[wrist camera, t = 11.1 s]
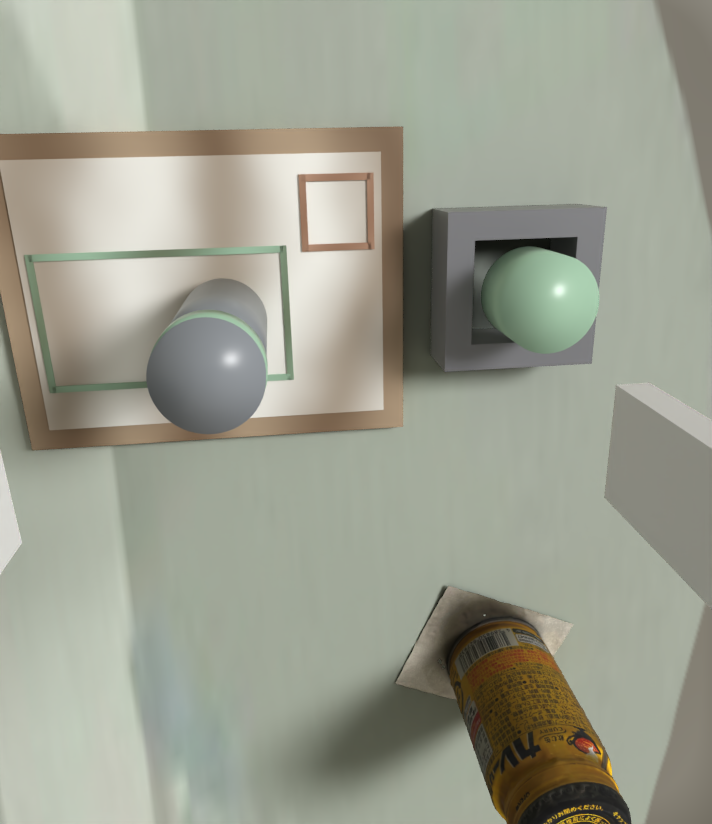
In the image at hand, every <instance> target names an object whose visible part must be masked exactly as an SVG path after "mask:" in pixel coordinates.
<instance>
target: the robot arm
mask: <svg viewBox="0 0 712 824" xmlns="http://www.w3.org/2000/svg"><path fill="white" fill-rule="evenodd" d="M604 498H605V499H606V500H607V501H608V502H609V503H610V504H611V505H612V506H613V507H614V508H615V509H616V510H617V511H618V512H619V513H620V514H621V515H622V516H623V517H624V518H625V519H626V520H627V521H628V523H629V524H630V525H631V526H632V527H633V528H634V529H635V530H636V531H637V532H638V533H639V534H640V535H641V536H642V537H643V538H644V539H645V540H646V541H647V542H648V543H649V544H650V545H651V547H652V548H653V549H654V550H655V551H656V552H657V553H658V554H659V555H660V556H661V557H662V558H663V559H664V560H665V561H666V562H667V563H668V564H669V565H670V566H671V567H672V568H673V569H674V570H675V572H676V573H677V574H678V575H679V576H680V577H681V578H682V579H683V580H684V581H685V582H686V583H687V584H688V585H689V586H690V587H691V588H692V589H693V590H694V591H695V592H696V593H697V594H698V596H699V597H700V598H701V599H702V600H703V601H704V602H705V603H706V604H707V605H708V606H709V607H710V608H711V609H712V420H711V419H709V418H708V417H706V416H704V415H703V414H701V413H699V412H698V411H696V410H694V409H693V408H691V407H689V406H688V405H686V404H684V403H683V402H681V401H679V400H678V399H676V398H674V397H673V396H671V395H669V394H668V393H666V392H664V391H663V390H661V389H659V388H658V387H656V386H654V385H653V384H651V383H637V384H621V385H616V390H615V400H614V409H613V419H612V428H611V438H610V447H609V457H608V466H607V476H606V485H605V495H604ZM21 544H22V540H21V536H20V532H19V528H18V523H17V519H16V515H15V511H14V506H13V502H12V498H11V493H10V489H9V485H8V481H7V476H6V472H5V468H4V464H3V459H2V455H1V451H0V574H1V573H2V571H3V570H4V568H5V567H6V565H7V564H8V562H9V561H10V560H11V558H12V557H13V555H14V554H15V552H16V551H17V549H18V548H19V547H20V545H21Z"/></svg>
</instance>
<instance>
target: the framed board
mask: <svg viewBox="0 0 712 824" xmlns="http://www.w3.org/2000/svg"><path fill="white" fill-rule="evenodd" d="M220 278H225V279H233V280H236V281H239V282H241V283H243V284H245V285H247V286H248V287H250V288H251V289H252V290H253V291H254V292H255V293H256V294H257V295H258V296H259V298H260V299H261V301H262V302H263V305H264V307H265V310H266V313H267V361H268V378H267V385H266V388H265V392H264V396H263V399H262V401H261V403H260V405H259V407H258V408H257V410H256V411H255V413H254V414H253V415H252V416H251V417H250V418H249V419H248V420H247V421H246V422H244V423H243V424H242V425H240V426H238V427H236V428H234V429H232V430H230V431H227V432H223V433H218V434H199V433H194V432H190V431H187V430H184V429H182V428H180V427H178V426H176V425H174V424H173V423H171V422H170V421H169V420H167V419H166V418H165V417H164V416H163V415H162V414H161V413H160V412H159V410H158V409H157V408H156V406H155V405H154V403H153V401H152V399H151V397H150V394H149V391H148V387H147V380H146V372H147V365H148V361H149V358H150V355H151V352H152V349H153V347H154V345H155V344H156V342H157V340H158V339H159V337H160V336H161V334H162V333H163V331H164V330H165V329H166V328H167V327H168V326H169V325H170V323H171V321H172V320H173V318H174V317H175V315H176V314H177V312H178V311H179V309H180V308H181V306H182V305H183V303H184V302H185V300H186V298H187V297H188V296H189V294H190V293H191V292H192V291H193V290H194V289H195V288H196V287H197V286H199V285H200V284H202V283H204V282H207V281H209V280H213V279H220ZM0 293H1V298H2V303H3V308H4V313H5V318H6V323H7V328H8V332H9V337H10V342H11V347H12V352H13V357H14V362H15V367H16V372H17V377H18V382H19V387H20V392H21V397H22V402H23V407H24V412H25V417H26V422H27V427H28V432H29V437H30V442H31V447H32V450H46V449H62V448H77V447H93V446H108V445H124V444H140V443H155V442H171V441H187V440H202V439H218V438H233V437H249V436H265V435H280V434H296V433H312V432H327V431H343V430H358V429H374V428H390V427H403V127H357V128H304V129H251V130H198V131H145V132H92V133H39V134H0Z"/></svg>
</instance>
